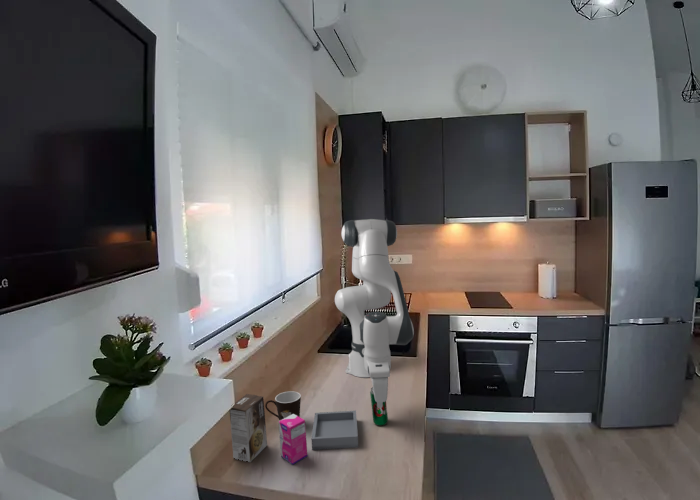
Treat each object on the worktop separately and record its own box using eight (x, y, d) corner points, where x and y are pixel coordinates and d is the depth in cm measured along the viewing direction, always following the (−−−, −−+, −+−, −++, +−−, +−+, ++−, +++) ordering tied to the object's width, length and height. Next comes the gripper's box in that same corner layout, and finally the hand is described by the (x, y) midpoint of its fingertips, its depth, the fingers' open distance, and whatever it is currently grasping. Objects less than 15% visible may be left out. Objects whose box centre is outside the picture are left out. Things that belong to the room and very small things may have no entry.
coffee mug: (307, 422, 137) (305, 394, 136) (291, 434, 130) (289, 405, 129) (281, 414, 143) (279, 387, 142) (264, 426, 136) (262, 398, 135)
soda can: (379, 416, 138) (376, 383, 137) (391, 421, 135) (387, 387, 133) (370, 423, 135) (366, 389, 133) (381, 428, 131) (378, 393, 130)
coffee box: (250, 442, 127) (246, 393, 125) (267, 445, 124) (264, 395, 123) (232, 459, 118) (228, 406, 117) (250, 463, 116) (246, 409, 114)
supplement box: (280, 457, 118) (277, 420, 117) (296, 448, 122) (294, 412, 121) (292, 465, 114) (289, 427, 113) (308, 456, 118) (306, 419, 117)
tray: (315, 422, 137) (315, 412, 136) (356, 420, 137) (355, 410, 137) (312, 450, 121) (311, 438, 120) (358, 447, 121) (357, 436, 121)
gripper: (366, 351, 143) (367, 388, 144) (369, 375, 122) (371, 418, 124) (383, 350, 143) (385, 387, 144) (390, 374, 122) (392, 417, 124)
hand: (378, 402), depth 134 cm, fingers closed on soda can, 5 cm apart
